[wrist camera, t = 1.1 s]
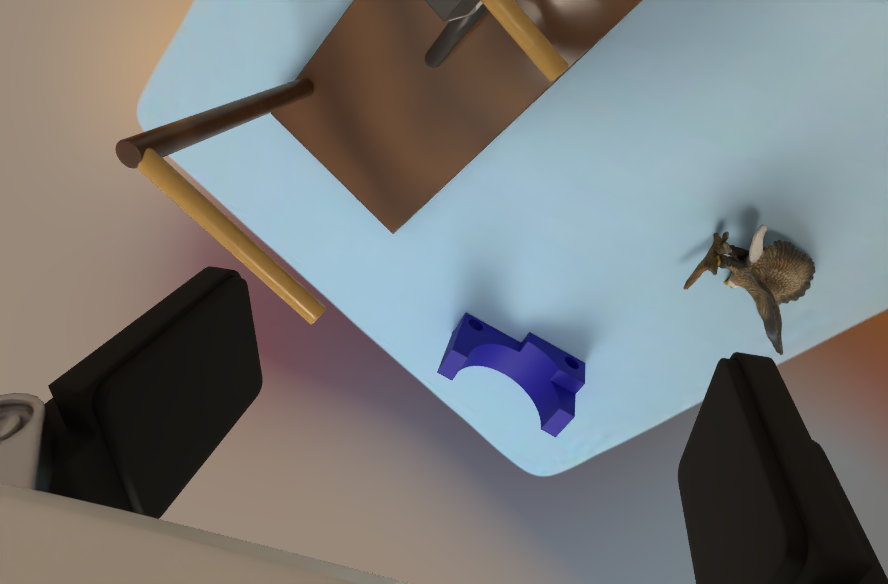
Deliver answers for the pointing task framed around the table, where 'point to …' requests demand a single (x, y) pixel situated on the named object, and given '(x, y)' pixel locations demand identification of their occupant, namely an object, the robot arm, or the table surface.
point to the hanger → (452, 26)
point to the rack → (389, 109)
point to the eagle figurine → (761, 275)
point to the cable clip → (520, 367)
